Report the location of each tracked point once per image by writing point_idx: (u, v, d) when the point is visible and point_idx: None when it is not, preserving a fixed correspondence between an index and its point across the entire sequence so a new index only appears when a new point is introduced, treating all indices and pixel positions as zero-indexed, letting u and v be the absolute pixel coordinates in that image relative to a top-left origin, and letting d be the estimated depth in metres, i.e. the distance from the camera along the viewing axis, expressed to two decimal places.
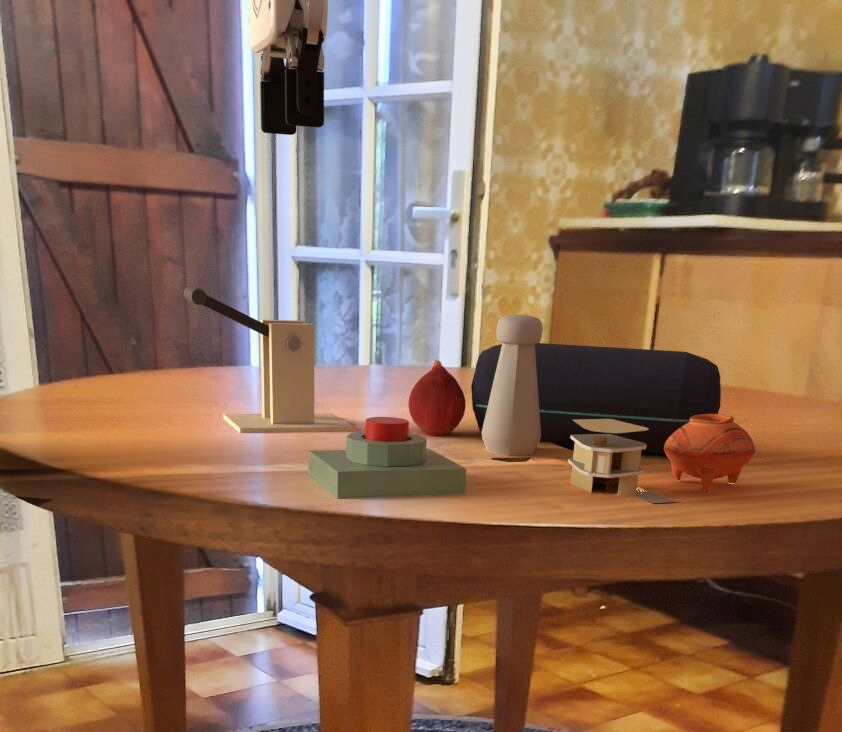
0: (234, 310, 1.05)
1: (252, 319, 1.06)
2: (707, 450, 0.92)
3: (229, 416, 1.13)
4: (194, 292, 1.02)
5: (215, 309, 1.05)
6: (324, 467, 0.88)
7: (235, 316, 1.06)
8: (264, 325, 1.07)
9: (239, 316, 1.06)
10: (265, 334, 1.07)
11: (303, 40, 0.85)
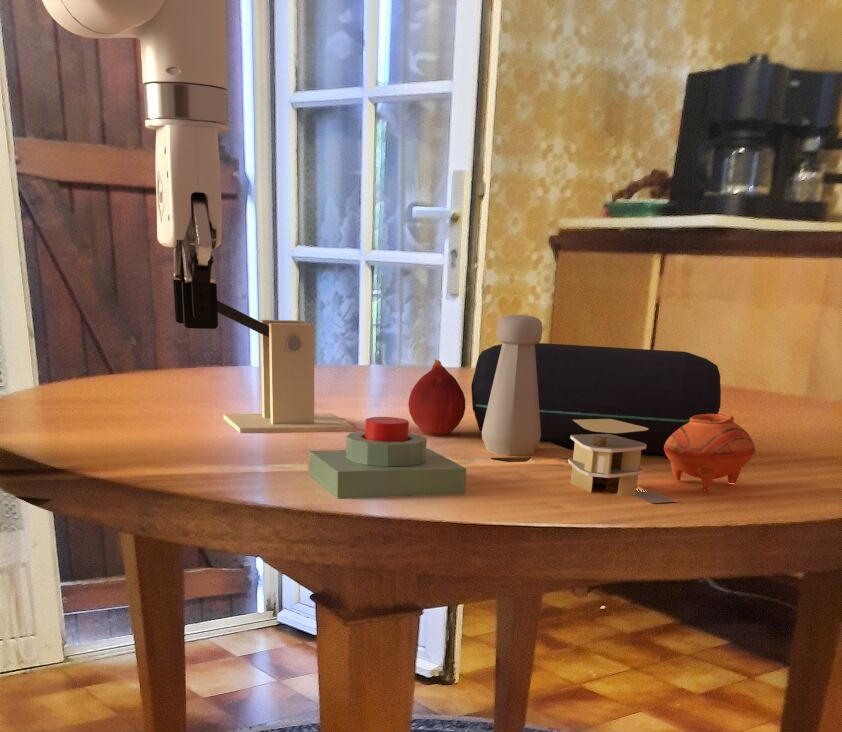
0: (234, 310, 1.05)
1: (252, 319, 1.06)
2: (707, 450, 0.92)
3: (229, 416, 1.13)
4: None
5: None
6: (324, 467, 0.88)
7: (235, 316, 1.06)
8: (264, 325, 1.07)
9: (239, 316, 1.06)
10: (265, 334, 1.07)
11: (195, 263, 0.98)
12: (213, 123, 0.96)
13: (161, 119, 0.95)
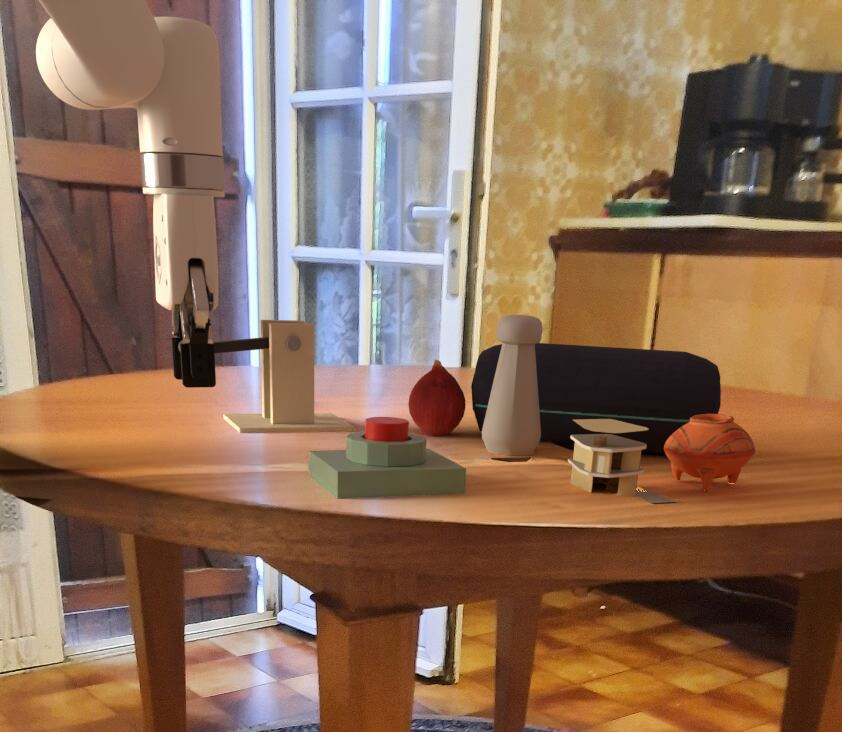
0: (228, 343, 1.06)
1: (247, 341, 1.07)
2: (707, 450, 0.92)
3: (229, 416, 1.13)
4: None
5: None
6: (324, 467, 0.88)
7: (232, 347, 1.07)
8: (260, 340, 1.07)
9: (235, 345, 1.07)
10: (265, 347, 1.08)
11: (192, 327, 1.00)
12: (209, 190, 0.98)
13: (158, 188, 0.97)
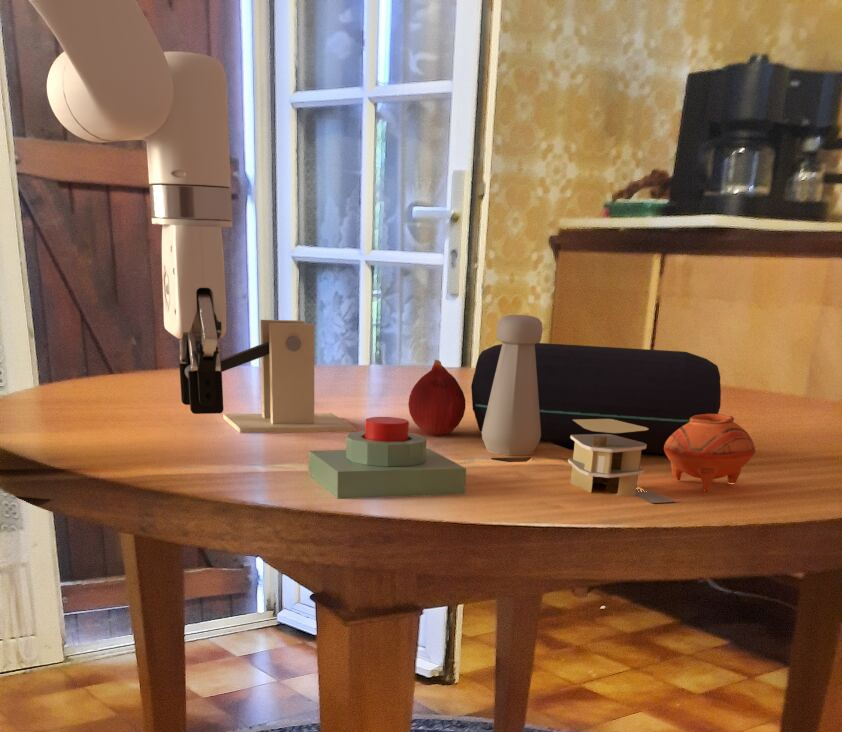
0: (231, 358, 1.07)
1: (249, 352, 1.07)
2: (707, 450, 0.92)
3: (229, 416, 1.13)
4: None
5: None
6: (324, 467, 0.88)
7: (235, 362, 1.07)
8: (261, 347, 1.08)
9: (238, 359, 1.07)
10: (267, 353, 1.08)
11: (200, 355, 1.01)
12: (217, 221, 0.99)
13: (167, 218, 0.98)
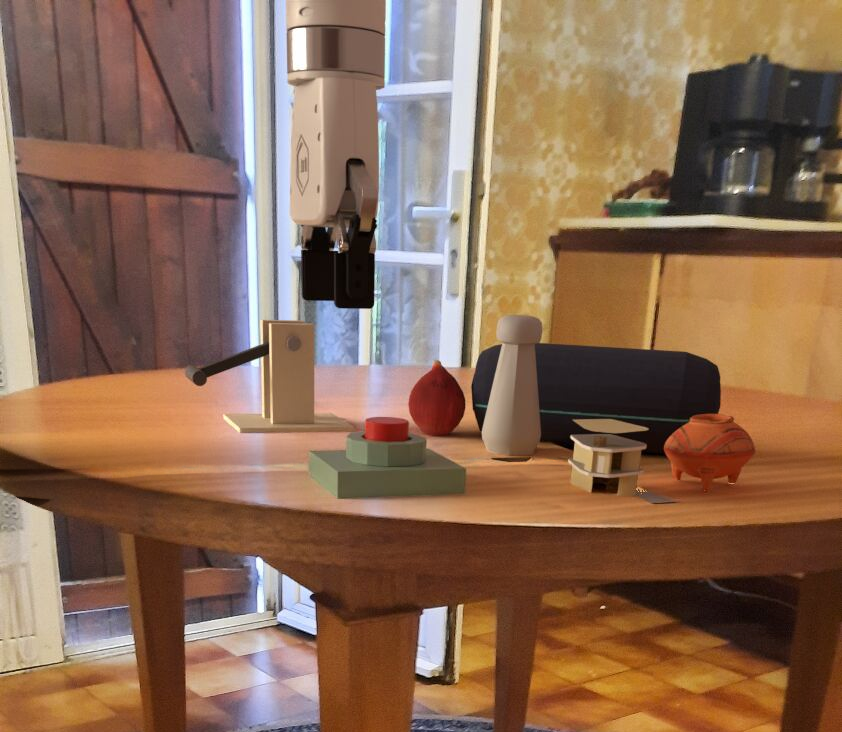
0: (231, 358, 1.07)
1: (249, 352, 1.07)
2: (707, 450, 0.92)
3: (229, 416, 1.13)
4: (193, 378, 1.05)
5: (218, 371, 1.07)
6: (324, 467, 0.88)
7: (235, 362, 1.07)
8: (261, 347, 1.08)
9: (238, 359, 1.07)
10: (267, 353, 1.08)
11: (356, 228, 0.81)
12: (372, 75, 0.80)
13: (312, 71, 0.79)
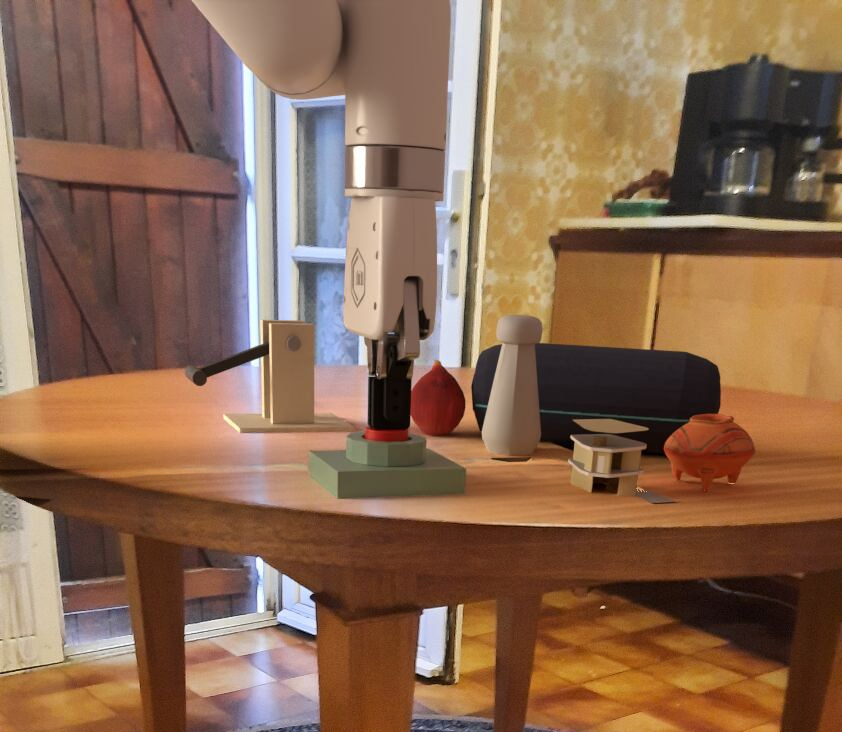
0: (231, 358, 1.07)
1: (249, 352, 1.07)
2: (707, 450, 0.92)
3: (229, 416, 1.13)
4: (193, 378, 1.05)
5: (218, 371, 1.07)
6: (324, 467, 0.88)
7: (235, 362, 1.07)
8: (261, 347, 1.08)
9: (238, 359, 1.07)
10: (267, 353, 1.08)
11: (394, 359, 0.83)
12: (431, 192, 0.79)
13: (371, 189, 0.78)
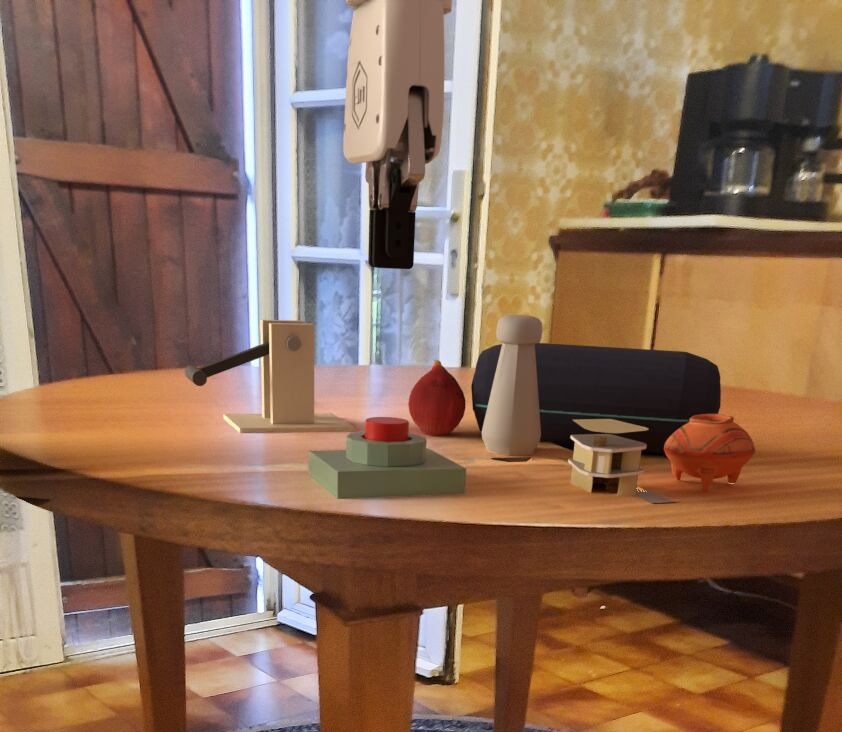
0: (231, 358, 1.07)
1: (249, 352, 1.07)
2: (707, 450, 0.92)
3: (229, 416, 1.13)
4: (193, 378, 1.05)
5: (218, 371, 1.07)
6: (324, 467, 0.88)
7: (235, 362, 1.07)
8: (261, 347, 1.08)
9: (238, 359, 1.07)
10: (267, 353, 1.08)
11: (397, 183, 0.78)
12: None
13: None
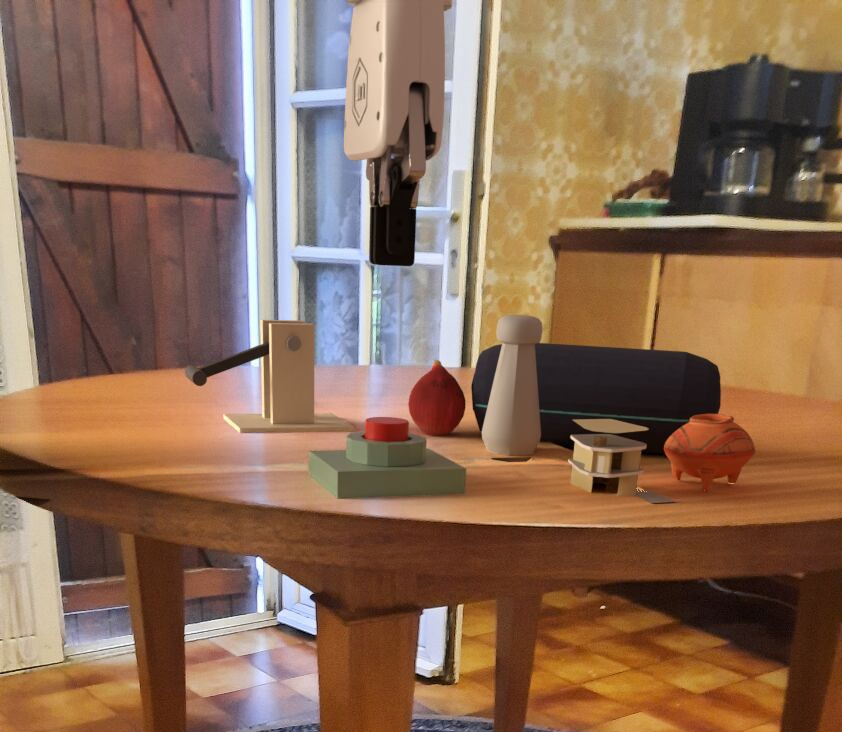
0: (231, 358, 1.07)
1: (249, 352, 1.07)
2: (707, 450, 0.92)
3: (229, 416, 1.13)
4: (193, 378, 1.05)
5: (218, 371, 1.07)
6: (324, 467, 0.88)
7: (235, 362, 1.07)
8: (261, 347, 1.08)
9: (238, 359, 1.07)
10: (267, 353, 1.08)
11: (398, 180, 0.78)
12: None
13: None
